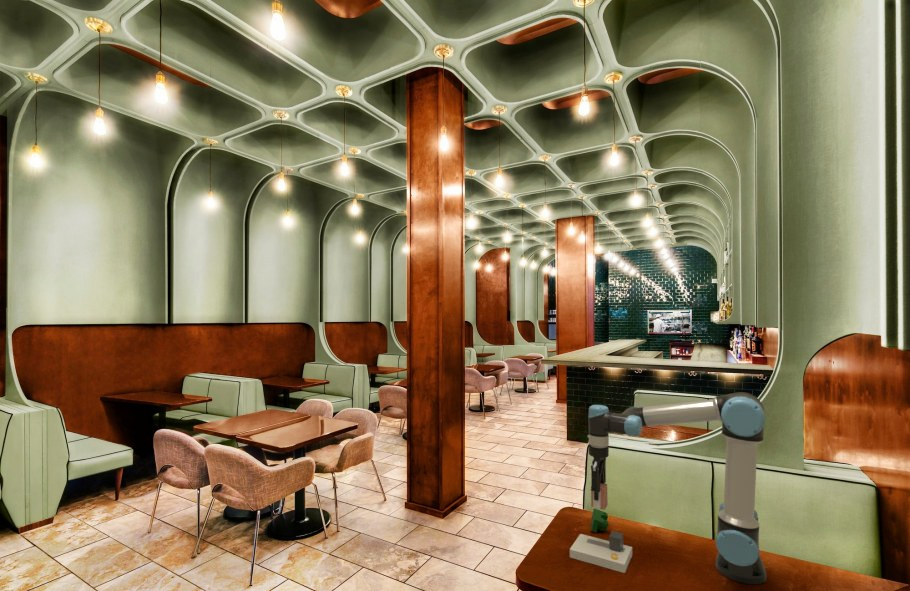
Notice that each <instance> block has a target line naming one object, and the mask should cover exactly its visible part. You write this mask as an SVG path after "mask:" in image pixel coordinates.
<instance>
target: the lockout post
mask: <svg viewBox="0 0 910 591" xmlns="http://www.w3.org/2000/svg"><path fill="white" fill-rule="evenodd" d="M600 491H601V509H600V510H601V511H605V510H606V508H607V507H608V506H609V504H608V500H609V499H608V484H607V483H605V484H602V483H600ZM590 498H591V499H590V504H591V505H590V506H591V508H593V491H591V490H590Z"/></svg>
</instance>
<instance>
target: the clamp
mask: <svg viewBox="0 0 910 591" xmlns="http://www.w3.org/2000/svg"><path fill="white" fill-rule="evenodd" d="M608 518H609V516H608V512H605V511H604V510H601V509H597V508H593V510H592V514H591V519H590V530H591V532H593V533H598V530H599V531H603V532H605V533H606V532H607V530H608V527H609V524H610V523H609V520H608Z"/></svg>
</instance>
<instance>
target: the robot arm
mask: <svg viewBox="0 0 910 591" xmlns="http://www.w3.org/2000/svg"><path fill="white" fill-rule="evenodd" d="M587 419H588V420H587V422H588V435H587V436H586V437H587V438H588V444H589V445H588V455H589V456H591V457H593V459H592V463H591V466H590V470H591V473H590V474H591V475H590V476H591V484H590V492H591V491H593V507H592V508H593V509H597V510H602V509H601V491H600V483H602V484H607V477H606V476H607V475H606V474H607V470H606V466H607V465H606V464H607V463H606V461H607V458H608V457H609V455H610V454H609V451H610V449H609V445H610V443H609V442H610V441H609V433H612V434H620V435H625V436H629V437H639V436H641V434H642V430H643V428H644V427H654V426H664V425H665V426H666V425H678V424H692V423H703V422H713V421H715V422H716V421H719V422H720V423H722V424H721V434H722V436H723V437H724V438H725V439H726V445H725V446H726V447H725V448H726V450H725V465H724V466H725V469H724V489H723V490H724V491H723V492H724V493H723V502H722V503H720V504H719V509H718V513H717V527H716V528H717V529H716V536H715V540H714V542H715V546H716V549H717V551H718V552H717V554H716V557H715V568H716V570H717V571H718V572H719V573H720V574H722V575H723V576H724V577H726V578H727V579H730V580H733V581H735V582H739V583H740V584H741V583H742V584H746V585H747V584H748V585H760V584H764V583H765V582H766V581H767V570H766V568H765V566H764V563H763V559H762V557H761V555H760V554H761V553H760V522H759V516H758V511H756V509H755V506H756V505H755V501H756V500H755V499H756V480H757V462H758V461H757V460H758V459H757V458H758V445H760V444H761V443H763V442H764V430H765V429H764V428H765V423H766V413H765V408H764V405H763V403H762V402H761V400H760V399H759V398H758V397H757V396H755V395H753V394H751V393H749V392H741V391H739V392H733V393H728V394H723V395H716V396H714V397H713V399H705V400H695V401H687V402H686V401H685V402H678V403H669V404H660V405H659V404H658V405H650V406H642V407H639V406H638V407H637V406H632V407H631V406H630V407H628V408H626V409H625V410H624V411H622V413H618V412H617V413H616V412H610V410H609V407H608V406H606V405H603V404H592V405H591V406H589V408H588V416H587Z"/></svg>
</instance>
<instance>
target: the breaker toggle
mask: <svg viewBox="0 0 910 591" xmlns="http://www.w3.org/2000/svg"><path fill="white" fill-rule="evenodd" d="M608 541H609V549H612V550H615V551H619V552H621V550H622V548H623V545H624V533H623V532H618V531H614V530H611V533H610V534H609V536H608Z"/></svg>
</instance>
